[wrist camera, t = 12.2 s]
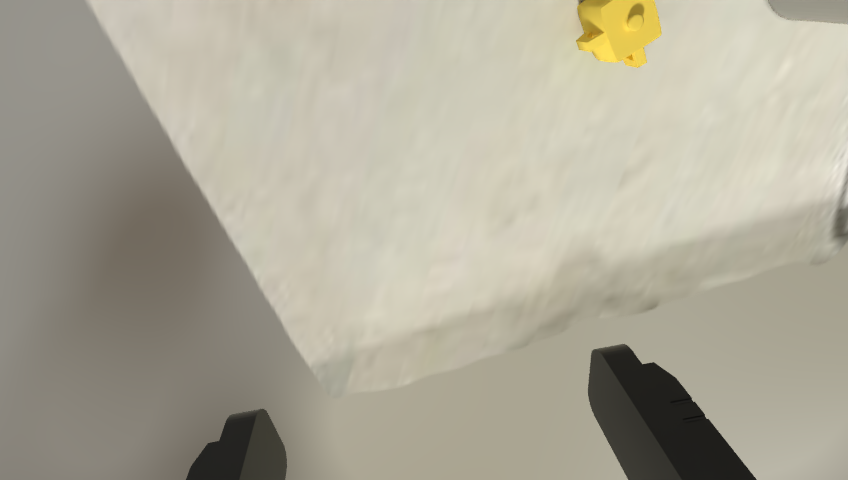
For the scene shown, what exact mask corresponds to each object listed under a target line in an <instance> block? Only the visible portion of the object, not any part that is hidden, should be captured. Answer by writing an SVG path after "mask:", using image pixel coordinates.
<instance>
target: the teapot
mask: <svg viewBox="0 0 848 480" xmlns="http://www.w3.org/2000/svg"><path fill="white" fill-rule="evenodd" d="M577 9H578V14H579V17H580V21H581V24H582V27H583V31H584V34H583V35H582V36H581V37H580V38H579V39H578V40H576V42H577V45H578V48H579V50H583V51H588V52H591V51H592V52H593V54H594V56H595V57H596V58H597V59H598V60H600V61H605V62H619V61H621V60H623V61H624V63H625V65H627V66H632V67H637V68H638V67H640V66H642V65H643V64H645V63H647V60H646V56H645V52H644V46H646V45H647V44H649V43H650V42H652V41H654V40H655V39H657V38H658V37H659V36H661V27H660V22H659V17H658V13H657V9H656V5H655V2H654V0H585V1H583V2H582V3H581V4H579V5H578V7H577Z"/></svg>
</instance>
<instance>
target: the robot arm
mask: <svg viewBox="0 0 848 480" xmlns="http://www.w3.org/2000/svg"><path fill="white" fill-rule="evenodd" d="M768 2H769V4H770V6H771V8H772V9H773V11H774V12H776V13H777V14H778V15H779V16H780V17H783V18H786V19H788V20H800V21H814V22H827V23H838V24H848V0H768ZM588 396H589V401H590V405H591V408H592V411H593V413H594V416H595V418H596V420H597V421H598V423H599V425H600V427H601V429H602V431H603V433H604V435H605V437H606V438H607V440H608V442H609V444H610V446H611V448H612V450H613V452H614V453H615V455H616V457H617V459H618V461H619V463H620V465H621V467H622V468H623V470H624V472H625V474H626V476H627V478H628V480H756V478H755V477H754V476H753V475H752V473H751V472H750V471H749V470H748V468H747V467H746V466H745V465H744V463H743V462H742V461H741V459H740V458H739V457H738V456H737V454H736V453H735V452H734V451H733V449H732V448H731V447H730V446H729V444H728V443H727V442H726V441H725V439H724V438H723V437H722V436H721V434H720V433H719V432H718V430H717V429H716V428H715V427H714V425H713V424H712V423H711V422H710V420H709V419H706V417H705V414H704V413H703V412H702V410H701V409H700V408H699V407H698V405H697V404H696V403H695V402H693V401H692V398H691V397H690V395H689V394H688V393H687V391H686V390H685V389H684V388H683V386H682V385H681V384H680V383H679V381H678V380H677V379H676V378H675V377H674V376H672V375H671V374H670V373H668V372H667V371H665V370H664V369H662V368H661V367H660V366H658V365H657V364H655V363H654V362H653V363H647V364H642V363H641V362H640V361H639V360H638V358H637V357H636V355H635V354H634V352H633V351H632V350H631V349H630V348H629V347H628V346H627V345H625V344H621V345H616V346H610V347H605V348H599V349H594V350H593V351H592V354H591V363H590V374H589V385H588ZM286 468H287V459H286V451H285V448H284V445H283V443H282V441H281V439H280V437H279V435H278V433H277V431H276V429H275V427H274V425H273V423H272V421H271V419H270V417H269V415H268V413H267V411H266V410H264V409H259V410H254V411H248V412H243V413H237V414H232V415H230V416H229V417H228V419H227V420H226V423H225V426H224V429H223V432H222V435H221V437H220V440H219V441H217V442H212V443H208V444H207V445H206V447H205V448H204V450H203V451H202V452H201V454H200V455H199V457H198V458H197V459H196V460H195V462H194V463H193V464H192V466H191V468H190V470H189V473H188V476H187V479H186V480H285V476H286Z"/></svg>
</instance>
